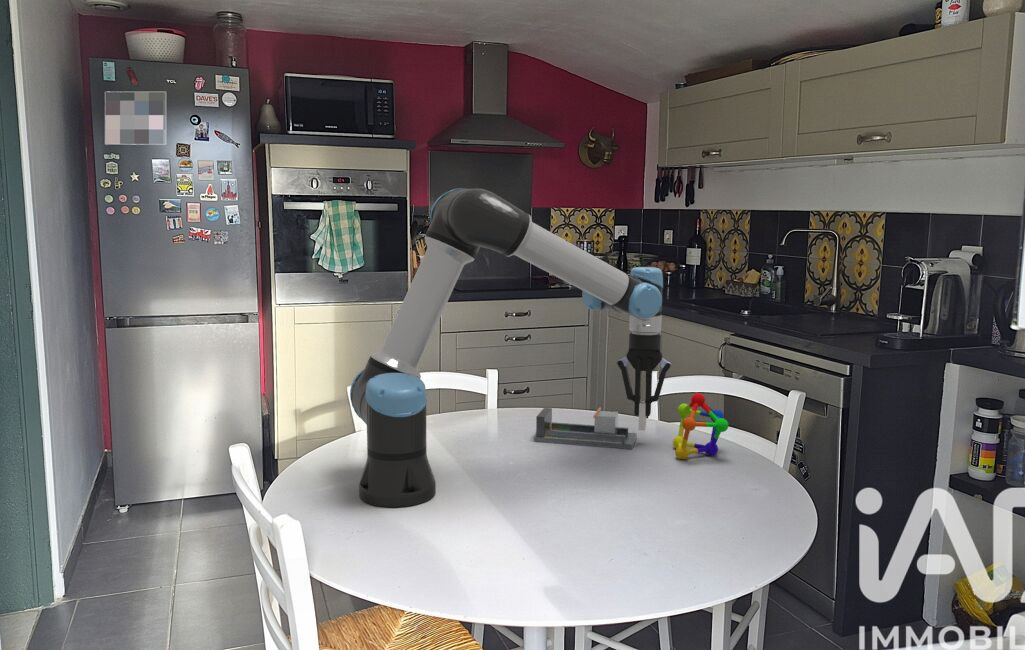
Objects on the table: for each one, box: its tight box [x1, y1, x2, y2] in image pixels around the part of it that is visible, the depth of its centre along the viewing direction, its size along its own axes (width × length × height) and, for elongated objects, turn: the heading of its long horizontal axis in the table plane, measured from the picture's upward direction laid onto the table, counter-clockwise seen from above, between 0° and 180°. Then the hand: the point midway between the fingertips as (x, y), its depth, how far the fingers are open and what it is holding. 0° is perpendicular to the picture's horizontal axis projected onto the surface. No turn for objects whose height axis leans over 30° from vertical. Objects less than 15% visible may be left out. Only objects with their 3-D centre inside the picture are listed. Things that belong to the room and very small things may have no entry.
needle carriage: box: [592, 406, 619, 435], centre depth 200 cm, size 5×9×6 cm, turn 166°
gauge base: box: [533, 407, 638, 450], centre depth 201 cm, size 24×10×6 cm, turn 76°
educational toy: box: [672, 392, 729, 460], centre depth 190 cm, size 16×13×15 cm
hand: (642, 428), depth 198 cm, fingers closed
